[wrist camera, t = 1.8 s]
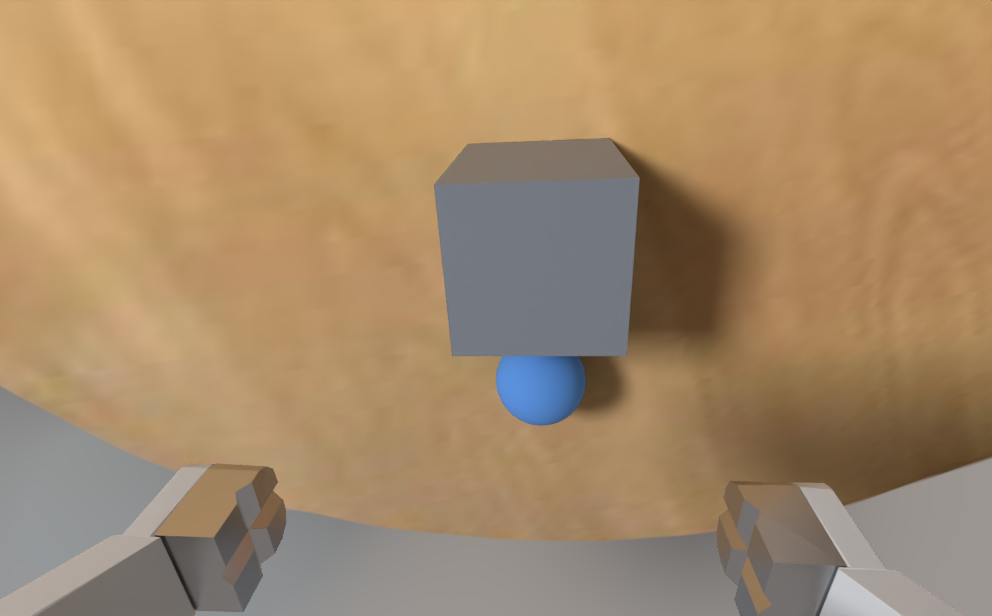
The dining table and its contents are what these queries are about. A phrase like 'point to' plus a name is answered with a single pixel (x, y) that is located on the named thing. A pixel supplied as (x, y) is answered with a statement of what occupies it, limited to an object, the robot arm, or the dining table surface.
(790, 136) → the dining table surface
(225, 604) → the robot arm
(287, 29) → the dining table surface
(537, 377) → the ball
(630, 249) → the balanced grey cube
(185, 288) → the dining table surface
